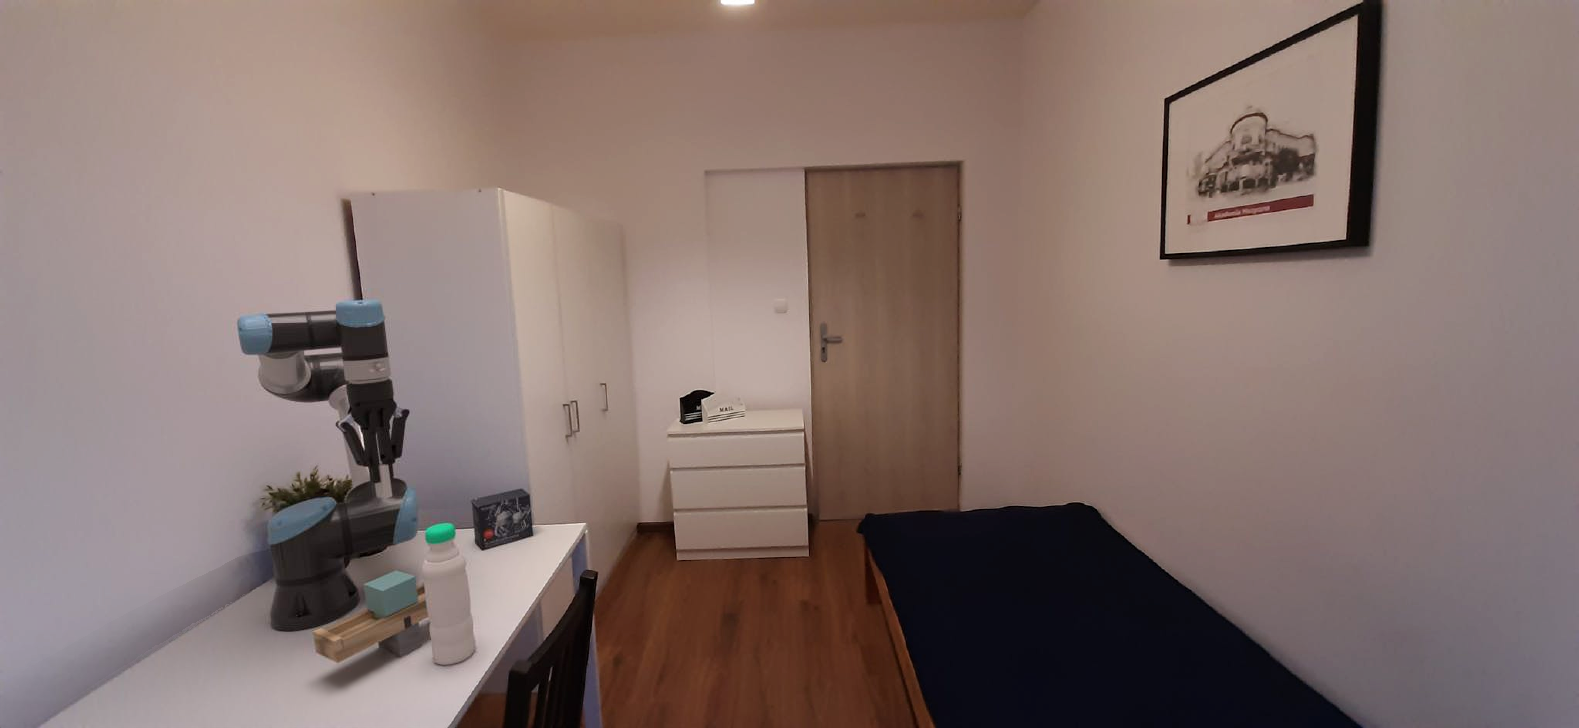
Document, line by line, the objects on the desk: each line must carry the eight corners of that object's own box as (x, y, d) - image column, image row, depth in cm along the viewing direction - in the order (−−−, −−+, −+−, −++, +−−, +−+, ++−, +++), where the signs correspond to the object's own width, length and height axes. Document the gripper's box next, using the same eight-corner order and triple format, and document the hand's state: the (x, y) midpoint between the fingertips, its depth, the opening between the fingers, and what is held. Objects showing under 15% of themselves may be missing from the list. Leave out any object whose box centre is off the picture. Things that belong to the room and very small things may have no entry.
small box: (481, 551, 161) (476, 506, 160) (474, 543, 167) (469, 499, 165) (534, 536, 170) (530, 493, 168) (525, 528, 175) (521, 487, 173)
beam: (319, 678, 112) (310, 617, 110) (448, 612, 132) (441, 560, 131) (342, 690, 108) (332, 627, 106) (470, 620, 129) (463, 567, 127)
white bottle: (465, 639, 122) (451, 516, 118) (483, 652, 118) (468, 524, 114) (426, 657, 117) (410, 528, 113) (443, 671, 112) (426, 538, 109)
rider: (368, 617, 118) (363, 584, 117) (400, 601, 123) (396, 570, 122) (387, 624, 115) (382, 591, 114) (419, 608, 120) (415, 576, 119)
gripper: (343, 387, 115) (360, 510, 119) (413, 375, 127) (427, 488, 130) (321, 384, 119) (338, 504, 122) (391, 373, 130) (406, 483, 134)
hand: (384, 496), depth 126 cm, fingers closed
